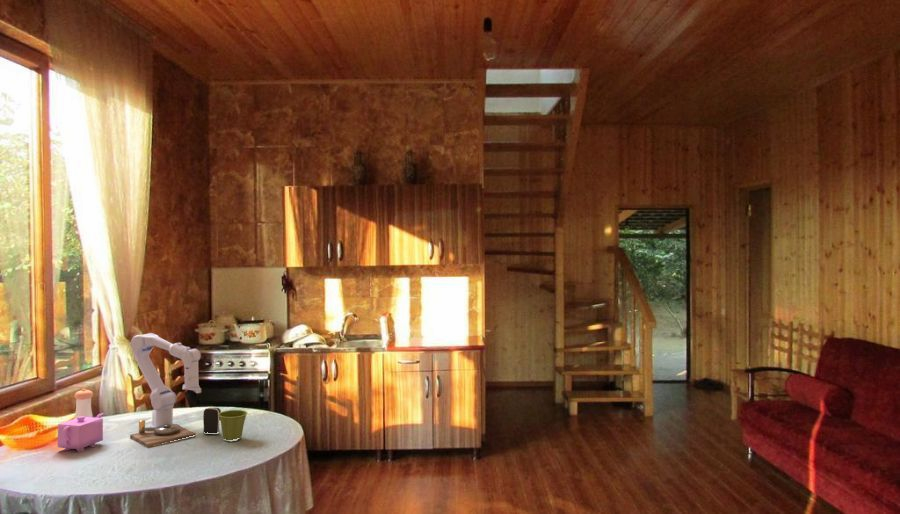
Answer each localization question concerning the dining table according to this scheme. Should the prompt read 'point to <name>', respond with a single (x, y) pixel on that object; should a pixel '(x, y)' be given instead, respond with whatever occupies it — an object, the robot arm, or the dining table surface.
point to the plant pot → (232, 423)
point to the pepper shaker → (83, 403)
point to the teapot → (80, 432)
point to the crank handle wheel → (159, 428)
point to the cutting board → (159, 437)
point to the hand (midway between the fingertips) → (192, 407)
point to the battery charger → (211, 420)
